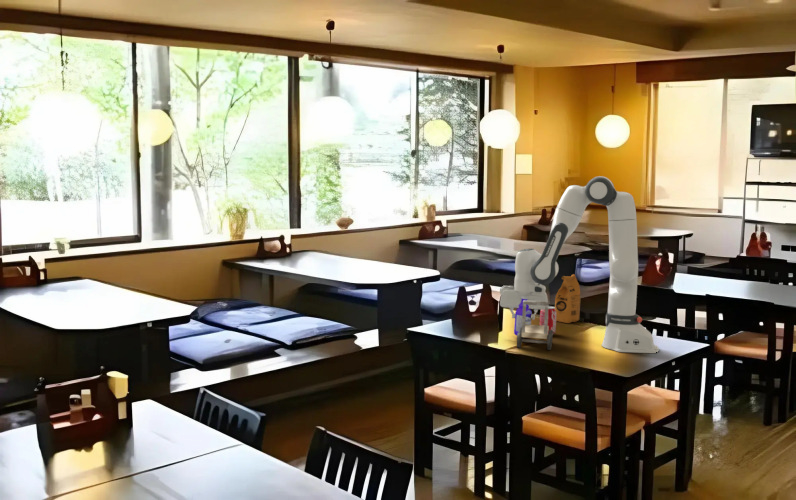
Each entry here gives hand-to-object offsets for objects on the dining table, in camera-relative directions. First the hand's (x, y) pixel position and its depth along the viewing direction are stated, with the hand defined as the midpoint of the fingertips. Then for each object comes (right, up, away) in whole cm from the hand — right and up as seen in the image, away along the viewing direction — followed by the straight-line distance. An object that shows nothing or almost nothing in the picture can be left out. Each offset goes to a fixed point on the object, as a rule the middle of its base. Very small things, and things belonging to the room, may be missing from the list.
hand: (523, 318), depth 336 cm
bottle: (-1, -7, +1) cm, 8 cm away
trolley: (+3, -10, -13) cm, 16 cm away
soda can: (+12, -8, +11) cm, 18 cm away
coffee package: (+27, -5, +41) cm, 50 cm away
